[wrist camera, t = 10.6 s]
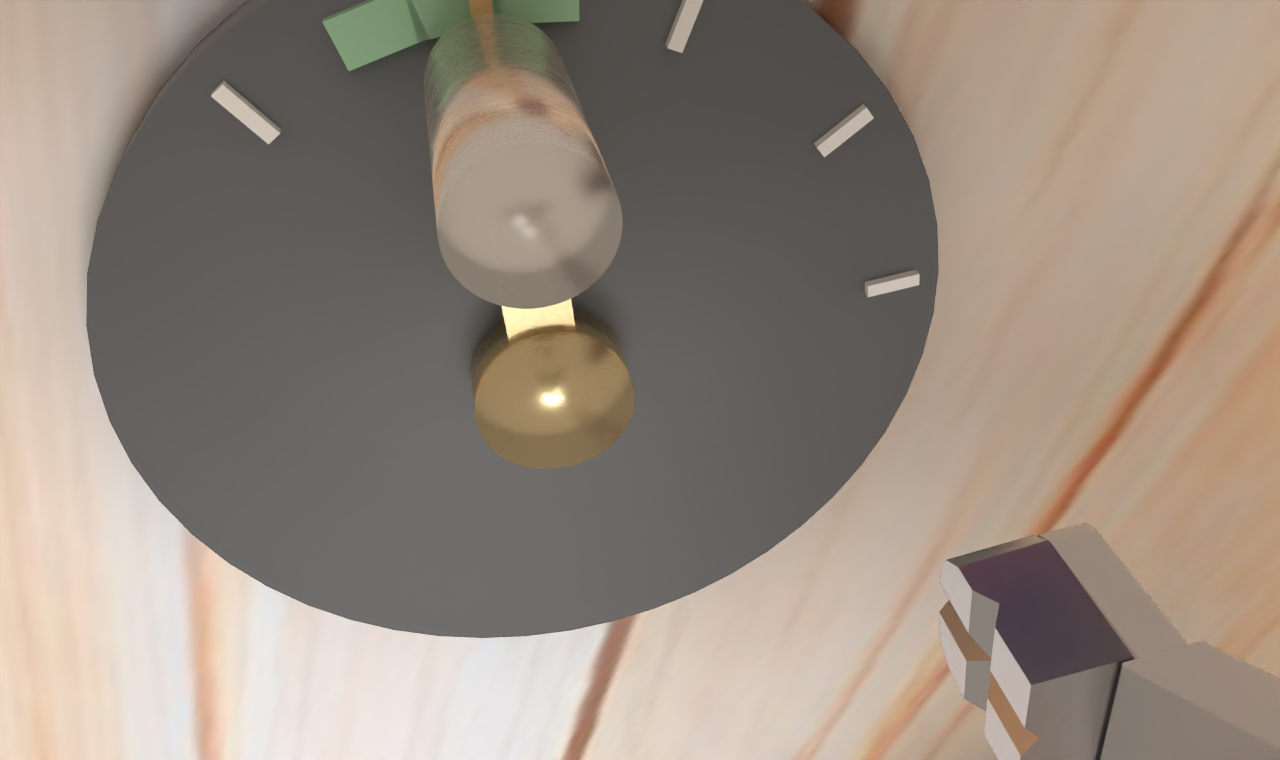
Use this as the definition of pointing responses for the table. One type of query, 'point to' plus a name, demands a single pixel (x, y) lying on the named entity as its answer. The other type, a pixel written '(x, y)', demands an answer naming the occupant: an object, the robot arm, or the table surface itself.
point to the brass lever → (526, 238)
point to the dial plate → (458, 319)
